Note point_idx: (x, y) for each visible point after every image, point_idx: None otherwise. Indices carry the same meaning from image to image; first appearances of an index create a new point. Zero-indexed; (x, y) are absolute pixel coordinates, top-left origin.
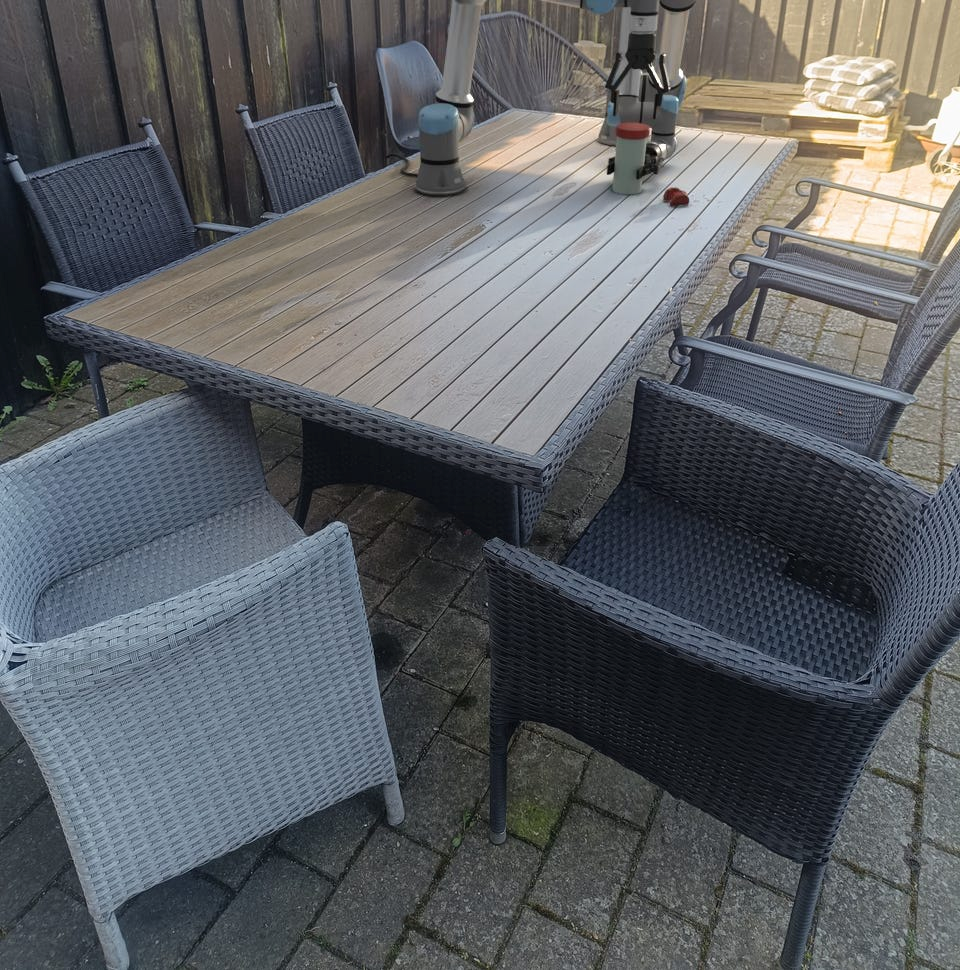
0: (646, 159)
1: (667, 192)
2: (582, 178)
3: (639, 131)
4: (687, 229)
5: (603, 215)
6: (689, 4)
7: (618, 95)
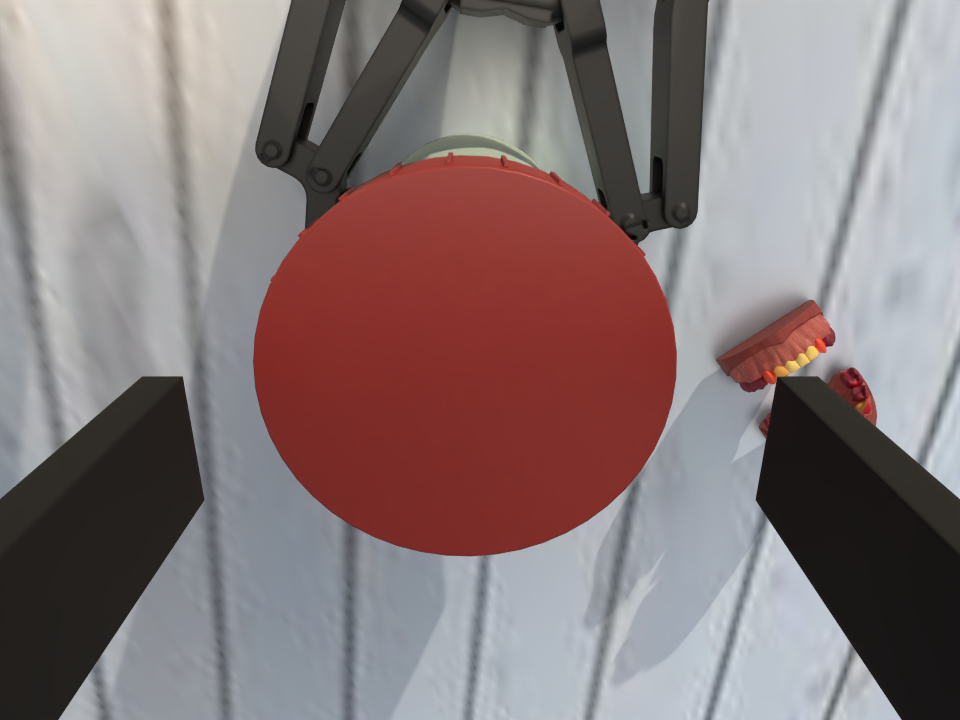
0: (572, 52)
1: (753, 388)
2: (100, 66)
3: (579, 519)
4: (846, 676)
5: (466, 644)
6: None
7: (16, 610)
